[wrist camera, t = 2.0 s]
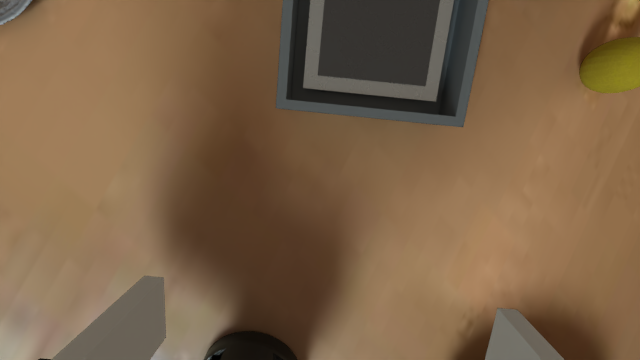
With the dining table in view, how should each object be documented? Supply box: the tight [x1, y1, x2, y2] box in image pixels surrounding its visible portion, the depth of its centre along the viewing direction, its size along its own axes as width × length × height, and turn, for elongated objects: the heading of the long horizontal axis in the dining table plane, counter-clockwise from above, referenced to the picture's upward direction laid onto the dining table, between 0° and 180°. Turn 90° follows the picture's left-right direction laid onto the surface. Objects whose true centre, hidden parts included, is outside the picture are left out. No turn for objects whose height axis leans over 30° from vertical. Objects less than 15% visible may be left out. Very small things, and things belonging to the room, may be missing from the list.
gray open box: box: [276, 0, 489, 127], centre depth 32 cm, size 20×20×7 cm
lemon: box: [579, 37, 640, 93], centre depth 32 cm, size 6×6×8 cm
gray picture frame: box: [303, 0, 454, 102], centre depth 32 cm, size 15×15×1 cm
